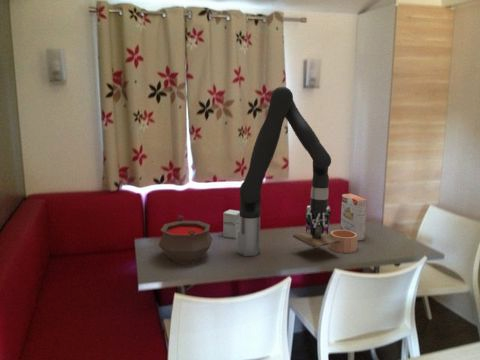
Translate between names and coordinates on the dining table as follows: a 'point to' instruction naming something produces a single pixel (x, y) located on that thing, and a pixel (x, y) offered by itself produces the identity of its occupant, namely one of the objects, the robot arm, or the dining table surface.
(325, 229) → the candy bar box
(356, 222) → the cracker box
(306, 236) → the walnut lid
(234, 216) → the supplement box
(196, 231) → the brown cooking pot
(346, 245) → the terracotta bowl
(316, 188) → the robot arm
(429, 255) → the dining table surface
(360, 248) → the dining table surface
